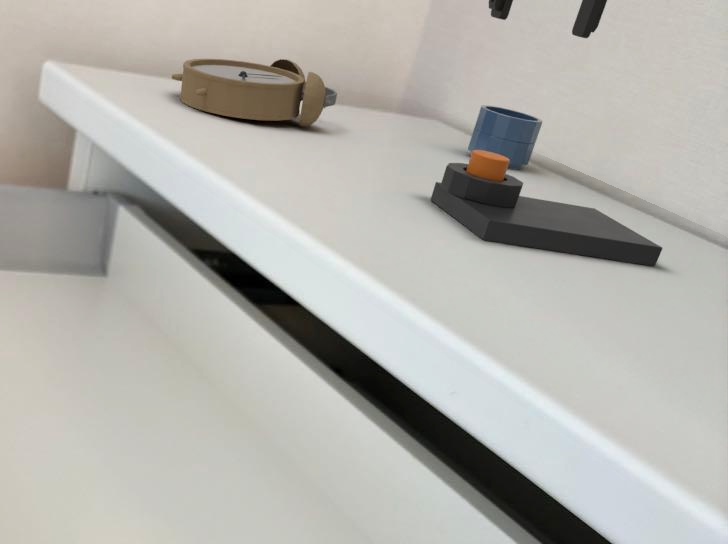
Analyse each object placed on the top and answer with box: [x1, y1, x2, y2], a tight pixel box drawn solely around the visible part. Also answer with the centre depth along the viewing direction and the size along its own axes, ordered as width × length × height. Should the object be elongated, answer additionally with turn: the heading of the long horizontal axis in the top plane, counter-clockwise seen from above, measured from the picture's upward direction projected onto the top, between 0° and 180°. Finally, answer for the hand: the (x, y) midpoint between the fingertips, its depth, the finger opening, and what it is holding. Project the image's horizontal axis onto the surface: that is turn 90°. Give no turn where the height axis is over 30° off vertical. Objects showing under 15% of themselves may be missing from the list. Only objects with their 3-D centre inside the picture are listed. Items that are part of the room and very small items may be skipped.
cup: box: [467, 104, 543, 170], centre depth 105 cm, size 6×6×4 cm
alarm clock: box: [171, 58, 338, 127], centre depth 102 cm, size 11×5×15 cm
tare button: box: [466, 150, 510, 181], centre depth 81 cm, size 3×3×2 cm
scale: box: [430, 162, 663, 267], centre depth 81 cm, size 14×10×3 cm
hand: (539, 27), depth 100 cm, fingers open, 8 cm apart
